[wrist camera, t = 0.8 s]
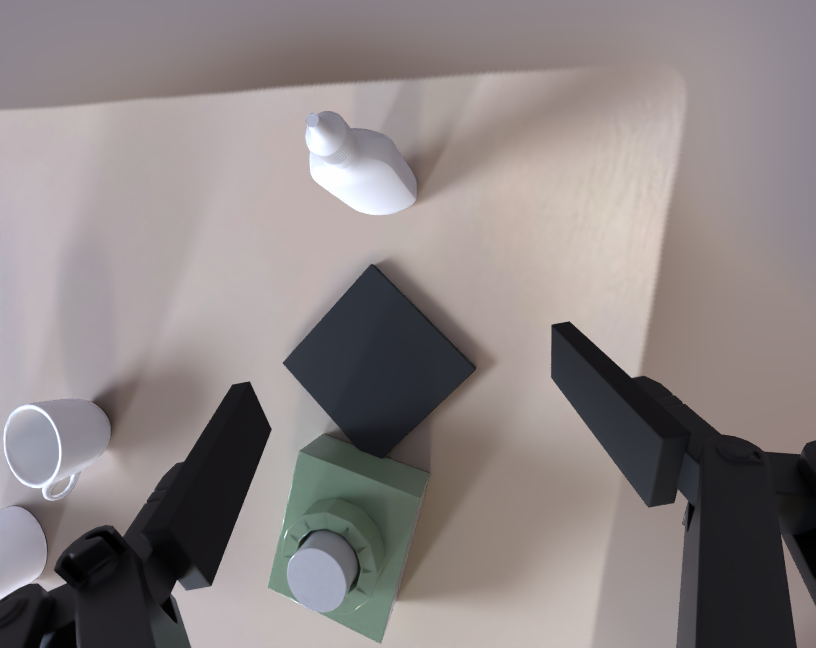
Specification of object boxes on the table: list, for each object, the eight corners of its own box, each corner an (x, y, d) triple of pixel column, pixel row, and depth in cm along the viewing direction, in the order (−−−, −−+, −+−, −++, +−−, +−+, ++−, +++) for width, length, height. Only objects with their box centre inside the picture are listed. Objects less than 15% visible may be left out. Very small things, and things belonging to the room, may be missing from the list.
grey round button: (309, 520, 26) (294, 537, 24) (364, 544, 25) (353, 564, 23) (296, 574, 27) (280, 595, 25) (350, 599, 26) (338, 624, 24)
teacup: (68, 387, 39) (2, 400, 34) (123, 395, 37) (62, 409, 32) (68, 477, 40) (3, 503, 34) (122, 489, 38) (62, 517, 32)
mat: (373, 264, 30) (371, 263, 29) (476, 368, 28) (476, 369, 28) (285, 362, 32) (282, 363, 32) (376, 463, 31) (373, 466, 30)
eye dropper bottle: (367, 156, 30) (284, 59, 18) (426, 182, 29) (378, 96, 17) (345, 205, 30) (252, 141, 19) (402, 233, 29) (340, 183, 18)
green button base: (323, 433, 32) (284, 461, 26) (430, 473, 30) (414, 513, 24) (294, 555, 33) (251, 607, 27) (395, 602, 31) (371, 670, 25)
